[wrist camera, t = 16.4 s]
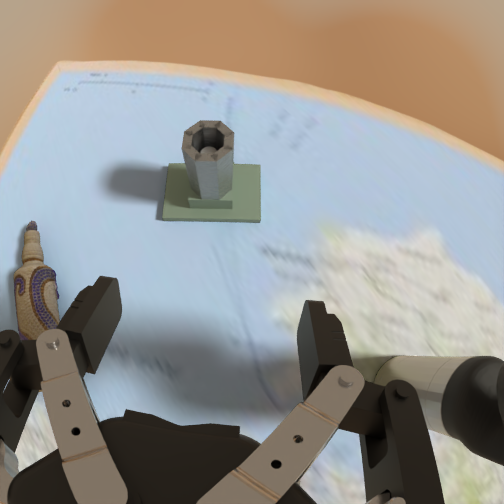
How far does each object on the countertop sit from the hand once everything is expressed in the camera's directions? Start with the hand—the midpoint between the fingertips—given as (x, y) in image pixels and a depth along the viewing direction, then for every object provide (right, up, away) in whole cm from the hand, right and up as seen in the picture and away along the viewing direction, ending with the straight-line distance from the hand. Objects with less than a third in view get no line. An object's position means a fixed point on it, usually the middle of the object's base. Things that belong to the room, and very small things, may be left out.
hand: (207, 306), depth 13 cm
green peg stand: (-4, +11, +35) cm, 36 cm away
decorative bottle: (-28, -7, +29) cm, 41 cm away
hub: (-4, +12, +31) cm, 33 cm away
